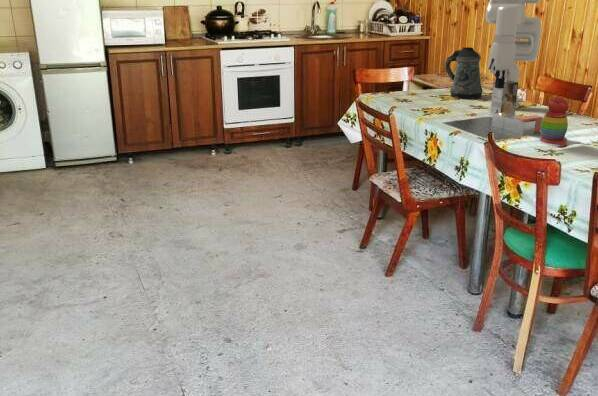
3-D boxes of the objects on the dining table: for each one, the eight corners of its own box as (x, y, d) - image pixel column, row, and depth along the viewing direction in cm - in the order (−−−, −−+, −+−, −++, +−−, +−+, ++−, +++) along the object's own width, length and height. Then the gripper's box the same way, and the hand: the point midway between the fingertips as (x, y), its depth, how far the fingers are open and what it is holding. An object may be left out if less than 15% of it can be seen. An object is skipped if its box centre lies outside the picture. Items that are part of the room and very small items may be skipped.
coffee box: (504, 115, 266) (508, 79, 261) (514, 117, 261) (519, 82, 255) (489, 117, 262) (493, 81, 257) (499, 120, 257) (503, 84, 251)
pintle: (501, 125, 245) (503, 112, 243) (505, 126, 243) (507, 113, 241) (496, 125, 244) (498, 112, 242) (501, 127, 242) (502, 114, 240)
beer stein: (485, 99, 299) (491, 49, 290) (448, 99, 299) (452, 50, 290) (477, 93, 314) (481, 45, 305) (441, 93, 315) (444, 46, 305)
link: (491, 125, 245) (492, 113, 243) (503, 123, 247) (504, 112, 246) (522, 134, 230) (523, 122, 228) (534, 132, 233) (536, 120, 231)
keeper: (533, 130, 237) (535, 115, 235) (540, 132, 234) (542, 116, 232) (514, 132, 233) (516, 117, 231) (520, 134, 230) (522, 119, 228)
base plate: (489, 118, 260) (489, 116, 260) (543, 135, 233) (543, 132, 233) (441, 124, 250) (441, 122, 250) (492, 143, 223) (492, 140, 223)
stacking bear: (566, 148, 216) (574, 100, 209) (537, 145, 220) (544, 98, 213) (567, 141, 225) (574, 95, 219) (539, 138, 229) (545, 93, 222)
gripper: (510, 37, 227) (505, 84, 234) (482, 40, 220) (478, 88, 227) (526, 39, 221) (520, 87, 227) (498, 41, 214) (492, 91, 221)
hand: (499, 87), depth 227 cm, fingers closed
